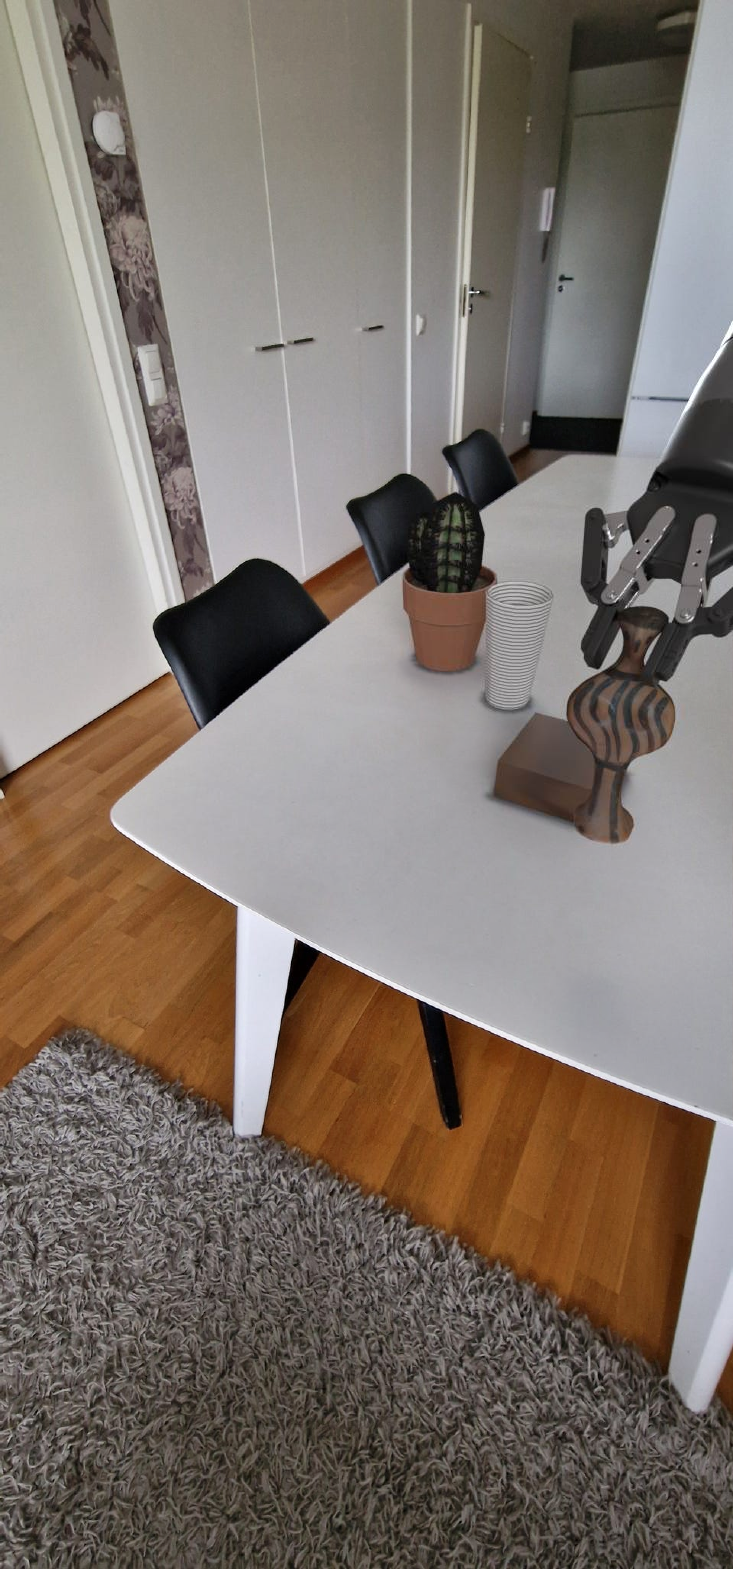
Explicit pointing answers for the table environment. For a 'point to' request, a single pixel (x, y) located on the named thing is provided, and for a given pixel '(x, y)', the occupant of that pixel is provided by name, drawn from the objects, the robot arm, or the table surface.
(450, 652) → the potted plant
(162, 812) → the table surface
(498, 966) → the table surface
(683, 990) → the table surface
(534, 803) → the walnut block
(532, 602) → the cup
